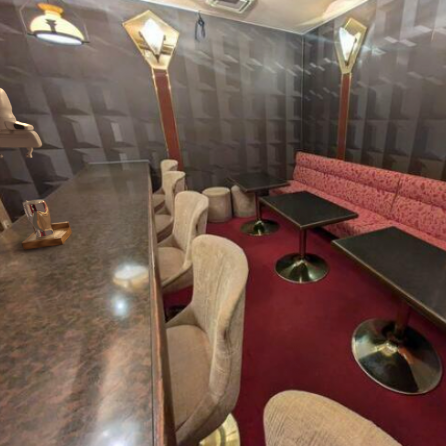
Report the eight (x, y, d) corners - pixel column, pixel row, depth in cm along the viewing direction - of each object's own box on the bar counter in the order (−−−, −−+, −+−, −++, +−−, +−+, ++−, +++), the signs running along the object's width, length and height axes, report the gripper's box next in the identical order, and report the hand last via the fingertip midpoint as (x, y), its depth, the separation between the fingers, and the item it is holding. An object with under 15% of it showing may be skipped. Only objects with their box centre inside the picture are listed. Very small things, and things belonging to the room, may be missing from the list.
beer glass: (53, 230, 111) (42, 198, 105) (59, 234, 107) (48, 201, 102) (32, 235, 105) (19, 202, 100) (37, 239, 102) (24, 205, 97)
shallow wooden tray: (24, 249, 100) (19, 237, 98) (37, 236, 112) (33, 225, 110) (63, 244, 106) (59, 232, 104) (72, 232, 117) (68, 221, 115)
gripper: (-38, 124, 99) (-23, 159, 104) (32, 126, 109) (42, 158, 114) (-28, 124, 104) (-15, 157, 109) (37, 126, 114) (47, 156, 119)
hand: (15, 157), depth 112 cm, fingers open, 8 cm apart
